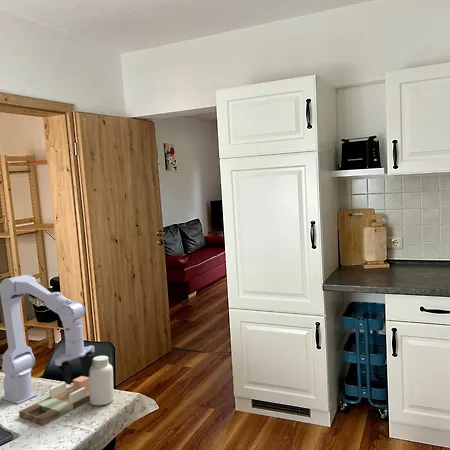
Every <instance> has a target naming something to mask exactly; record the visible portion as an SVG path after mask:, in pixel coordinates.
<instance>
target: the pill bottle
mask: <svg viewBox="0 0 450 450" xmlns="http://www.w3.org/2000/svg"><path fill="white" fill-rule="evenodd" d="M88 377H89V390H90V401H89V402H90V404H91V405H94V406H103V405H108V404H110V403H112V402H113V400H114V398H115V397H114V395H115V394H114V393H115V392H114V369H113V365H112V364H110V362H109V356H107V355H98V356H94V358H93V360H92V365H90V369H89V375H88Z"/></svg>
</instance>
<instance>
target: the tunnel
mask: <svg viewBox="0 0 450 450" xmlns="http://www.w3.org/2000/svg"><path fill="white" fill-rule="evenodd" d="M66 389H67V384H66V383H65V381H62V382H61V383H58V384H56V385H54V386H52V387H49V397H52V398H53V397H55V396H57V395H59V394H61V393H63V392H65V391H67V390H66ZM84 397H86V388H85V387H83V388H81V389H79V390H77V391H75V392H73V393H71V394H69V398H70V403H72V404H73V403H74V402H76V401H78V400H80V399H82V398H84Z"/></svg>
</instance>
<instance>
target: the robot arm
mask: <svg viewBox="0 0 450 450" xmlns="http://www.w3.org/2000/svg"><path fill="white" fill-rule="evenodd" d="M27 294H29V295H31V296H34V297H35V298H37V299H39V300H41V301H42V302H44V304H45V307H46V308H48V309H49V310H51V311H52V312H54V313H55V314H57V315H58V316H59V318H60V321H61V322H62V327H63V329H64V341H65V342H64V344H65V353H64V354H62V355H60V356H59V357H57V358H55V359H54V365H55V366H56V367H57V368H58V370H59V371H60V374H61V375H62V377H63V380H64V382H65V383H66V385H72V383H73V379H72V370H73V364H71V363H70V362H71V361H72V360H76V359H78V358H79V362H80V363H81V364H80V365H81V373H82V376H84V377H89V369H90V367H91V366H92V363H93V358H94V357H95V354H94V352H95V346H94V345H88V346H85V342H84V341H85V340H84V328H83V326H84V325H83V317H84V316H85V314H86V307H85V305H84V304H83V302H81V301H80V300H76V301H72V299H69V298H67V297H65V296H64V295H63V294H62V292H60V291H53V292H51V291H49V289H47V288H46V287H44V286H43V285H42V284H40V282H39V283H38V282H37V279H36V277H34V276H33V275H31V274H29V273H25V274H22V275H17V276H14V277H9V278H4V279H3V280H2V281H1V282H0V300H1V305H2V311H3V312H2V313H3V318H4V319H3V320H4V326H5V332H6V340H7V346H8V348H7V349H6V351H5V352H4V353H3V355H2V364H1V370H2V372H3V374H4V375H5V376H3V377H4V378H3V393H4V396H2V399H3V400H5V401H7V402H11V403H13V404H17V405H18V404H22V403H23V402H25V401H28V400H29V399H32V398H35V397H36V396H38V395H39V394H38V393H37V392H34V391H33V387H32V386H33V384H32V371H33V367H34V366H35V365H36V359H35V356H34V353H33V349H32V347H30V346H28V345H27V344H26V342H25V341H26V340H25V335H24V333H25V332H24V328H23V321H22V315H21V314H22V313H21V307H20V301H21V300H22V298H23V297H24V296H25V295H27Z"/></svg>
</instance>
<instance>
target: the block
mask: <svg viewBox="0 0 450 450" xmlns="http://www.w3.org/2000/svg"><path fill="white" fill-rule="evenodd" d="M72 386H73V390H74V391H77V390H79V389H81V388H83V387H85V388H86V390H88V389H89V376H83V375H80V376H78V377H76V378H74V379H72Z"/></svg>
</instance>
